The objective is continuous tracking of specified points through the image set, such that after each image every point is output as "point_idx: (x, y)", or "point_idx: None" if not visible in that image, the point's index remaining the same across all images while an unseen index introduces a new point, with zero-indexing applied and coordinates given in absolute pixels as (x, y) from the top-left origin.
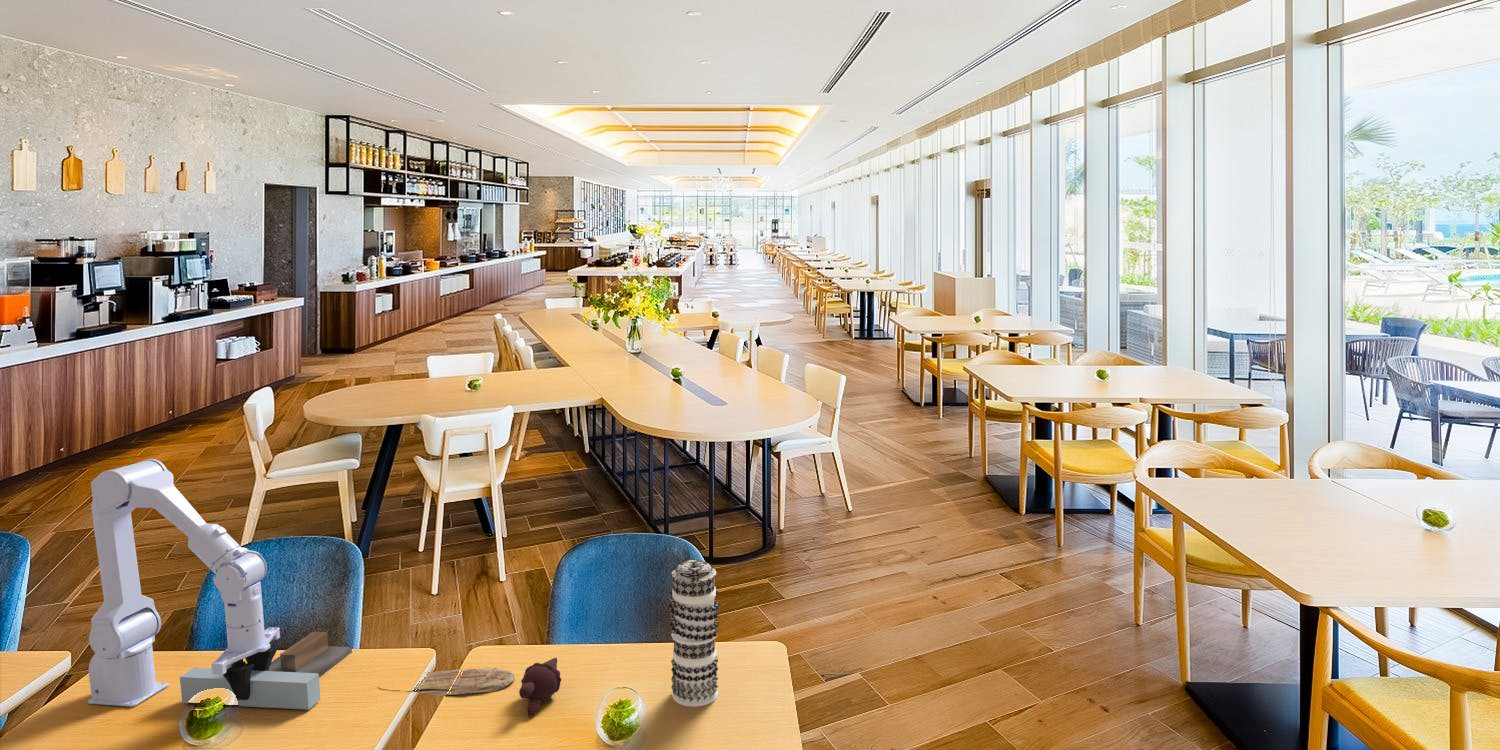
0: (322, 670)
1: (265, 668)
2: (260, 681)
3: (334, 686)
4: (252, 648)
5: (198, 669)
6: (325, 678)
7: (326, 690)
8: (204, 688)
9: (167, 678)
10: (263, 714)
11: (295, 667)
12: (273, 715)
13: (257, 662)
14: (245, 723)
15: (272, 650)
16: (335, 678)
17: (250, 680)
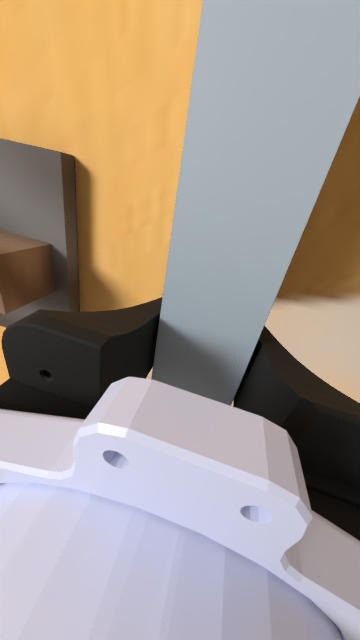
0: (17, 142)
1: (152, 319)
2: (272, 298)
3: (101, 9)
4: (311, 637)
5: None
6: (50, 116)
7: (136, 36)
8: None
9: None
10: (299, 243)
11: (37, 247)
12: (322, 198)
13: (134, 370)
14: (351, 281)
15: (72, 333)
16: (41, 59)
17: (254, 348)
